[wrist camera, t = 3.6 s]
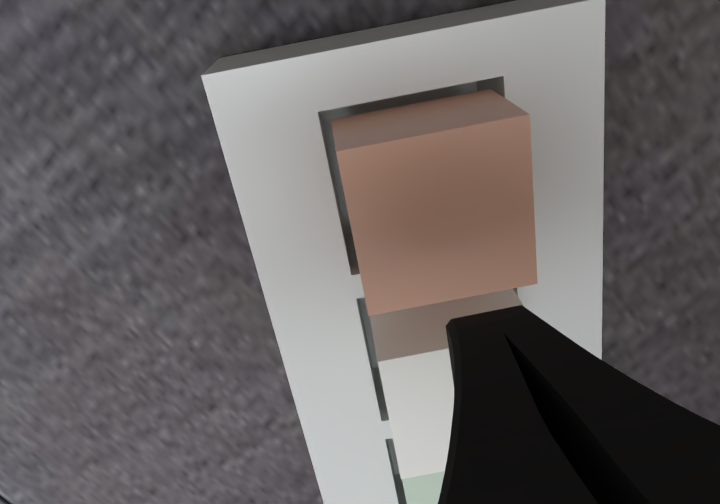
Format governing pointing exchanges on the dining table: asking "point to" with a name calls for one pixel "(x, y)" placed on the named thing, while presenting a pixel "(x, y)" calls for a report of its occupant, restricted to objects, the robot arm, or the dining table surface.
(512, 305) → the key cream
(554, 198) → the key strip
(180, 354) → the dining table surface
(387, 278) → the key terracotta
